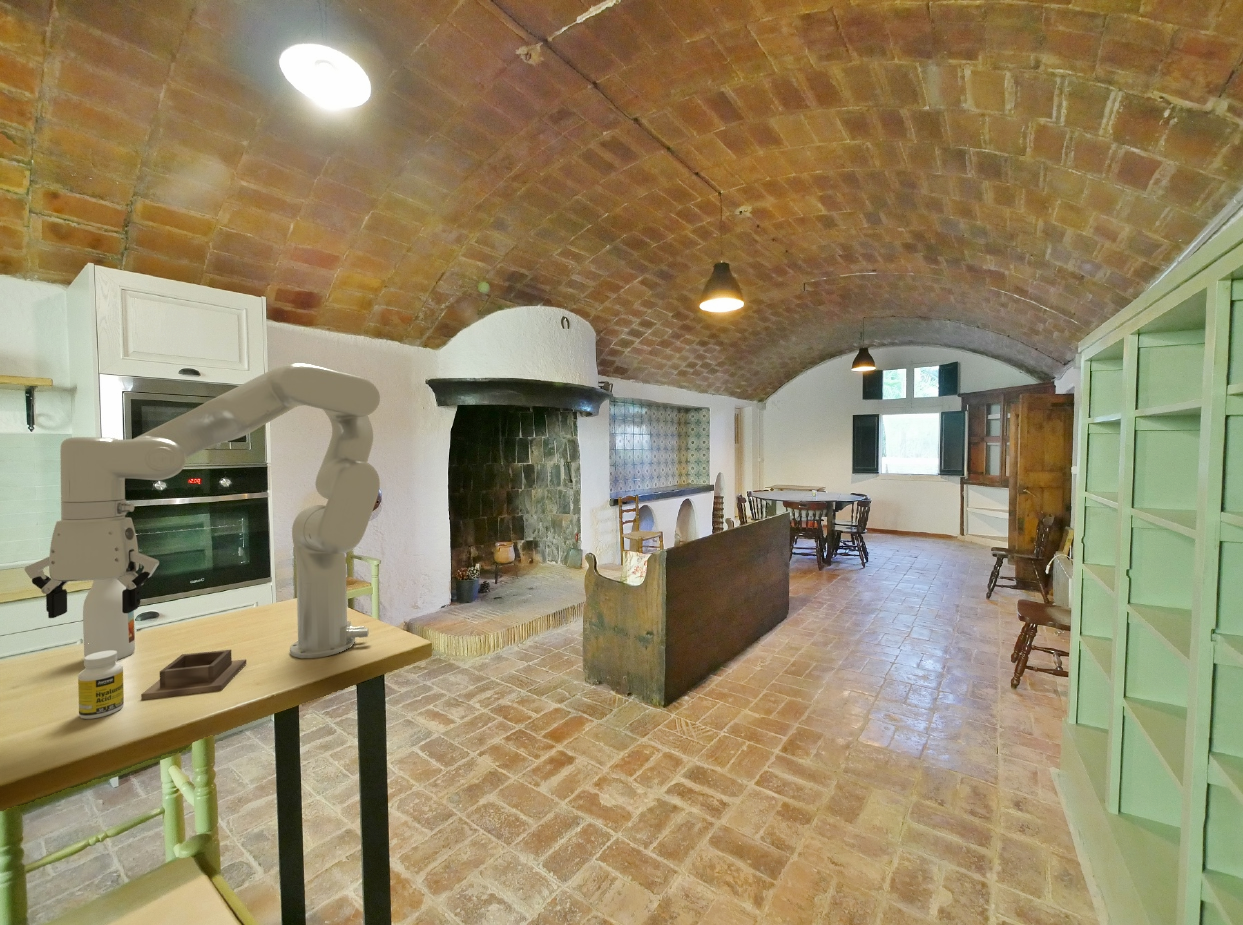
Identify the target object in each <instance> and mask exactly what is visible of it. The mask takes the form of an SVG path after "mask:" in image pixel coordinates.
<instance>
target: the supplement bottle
mask: <svg viewBox="0 0 1243 925" xmlns="http://www.w3.org/2000/svg"><path fill="white" fill-rule="evenodd" d="M117 661H118V659H117V651H113V650H110V651H102V652H97V653H93V654H90V655H88V656H86V657H84V658H83V666H84V669H83V670H81V671H80V673H79V674H78V676H77V677H78V678H77V680H78V681H77V682H78V686H77V687H78V715H79V718H80V719H85V720H93V719H99V718H102V717H106V716H109V715H112V714H114V713H116V712H118V711H120V710H121V709H122V708H123V706H124V700H125V699H124V694H125V693H124V692H125V691H124V666H123V665H122V664H121V663H119V662H117Z"/></svg>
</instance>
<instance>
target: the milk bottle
mask: <svg viewBox="0 0 1243 925" xmlns="http://www.w3.org/2000/svg"><path fill="white" fill-rule="evenodd" d="M125 589H126V587H125V586H124V585H123V584H122V583H121V582H120V581H119V580H117V579H108V580H92V584H91V586H90V589H89V591H88V592H87V594H86V595H85V596H86V597H85V599H84V600H83V601H84V602H83V606H82V608H83V609H82V624H83V625H82V626H83V628H82V630H83V631H82V632H83V634H82V635H83V653H84V655H83V656H84V658H85V657H86V656H88V655H90V654H93V653H97V652H102V651H110V650H113V651H117V660H121V659H123V658H126V657H128V656H130V655H133V654H134V652H135V650H136V639H135V633H136V632H135V615H134V614H135V613H134V612H135V610H134V611H132V612H130V613H123V612H122V591H123V590H125ZM88 643H89V644H88Z"/></svg>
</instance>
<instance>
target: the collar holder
mask: <svg viewBox="0 0 1243 925" xmlns="http://www.w3.org/2000/svg"><path fill="white" fill-rule="evenodd" d="M245 664H246V665H247V659H246V658H245V659H237V660H233V659H232V649H224V650H212V651H203V652H194V653H193V652H192V653H184V654H183V653H182V654H181V655H179V656H178V657H176V659H174V660H173V661H171V663H169V664H168V665H166V666H165V667H164V668H162V669H161V670H160V671H159V679H158V681H156V682H155V683H154V684H152V685H151V686H150V687H149V688H147V689H146V690H145V691H144V692H142V693H141V694H140V699H141V701H143V700H152V699H153V700H154V699H160V697H162V698H168V697H175V696H176V697H178V696H187V695H193V694H192V693H195V694H200V693H199V692H204V693H209V692H210V693H212V692H219V690H220V691H223V690H224V689H225V687H226V686H227V685H228V684H229V683H231V681H232V680H233V679H234V678H235V677H236V676H237V675H238V674H239V673H238V672H240V671H242V669H243V668H244V667H245V666H246V665H245ZM243 666H244V667H243ZM241 668H242V669H241ZM239 670H240V671H239ZM237 673H238V674H237ZM236 674H237V675H236ZM235 675H236V676H235ZM233 677H234V678H233Z"/></svg>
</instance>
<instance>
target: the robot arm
mask: <svg viewBox="0 0 1243 925" xmlns="http://www.w3.org/2000/svg"><path fill="white" fill-rule="evenodd" d="M380 395H381V394H380V392H379V389H378V387H377V386H376V385H375V384H374V382H371V381H370V380H369V379H367V378H365V377H362V376H358V375H354V374H350V373H346V372H341V371H336V370H332V369H329V368H325V367H321V366H318V365H313V364H308V363H301V362H299V363H298V362H295V363H290V364H286V365H281V366H278V367H275V368H272V369H271V370H268V371H266V372H264V373H262V374H260V375H258V376H257V377H254V378H253V379H250V380H248V381H247V382H245V383H242V384H240V385H238V386H236V387H234V388H233V389H231V390H228V391H226V392H223V394H221V395H218V396H217V397H214V398H212V399H210V400H208V401H205V402H204V403H202V404H201V405H198V406H197V407H194V408H193V409H192V410H189V411H187V412H185V413H183V414H180V415H178V416H177V417H175V418H173V419H171V420H169V421H166V422H164V423H163V424H161V425H159V426H156V427H154V428H152V429H151V430H148V431H146V432H145V433H142V434H140V435H138V436H136V437H134V438H132V439H131V438H130V439H118V438H115V437H114V438H113V437H100V436H99V437H98V436H97V437H96V436H95V437H94V436H91V437H89V436H87V437H84V436H80V437H79V436H77V437H75V436H74V437H68V438H66V439H64V440H63V441H62V442H61V444H60V451H59V452H60V458H59V459H60V520H57V521H55V526H54V528H53V532H52V536H51V540H50V547H49V548H50V549H49V556H47V557H45V558H43V559H41V560H38V561H36V562H34V563H31V564H29V565H27V566H25V568H24V571H25V573H26V574H27V576H28V577H29V578H30V579H31V582H32V584H33V585H34V586H36V587H37V588H38V589H40V591H41V593H42V594H43V595H45V603H46V604H45V608H46V612H48V613H47V614H48V615H47V616H48V619H55V618H57V617H60V616H62V615H64V614H66V613H67V612H68V591H67V589H66V588H64V587H65V586H66V585H67V584H68V583H69V582H85V581H87V582H88V581H94V580H108V579H117V580H119V581H120V582H121V583H122V584H123V585H124V586H125V587H126V589H125V590H123V591H122V612H123V613H130V612H132V611H134V612H135V611H136V610H137V609H138V608H139V606H140V605H141V586H143V585H144V584H145V582H147V581H148V580H149V579H151V577H153V575H154V572H155V571H156V569H158V568H157V567H158V566H159V565H160V561H159V559H156V558H153V557H150V556H148V555H146V554H143V553H141V552H139V544H138V538H137V533H136V528H135V526H134V522H133V519H132V517H126V515H127V513H129V512H131V513H132V512H134V510H135V505H134V503H128V502H127V499H126V489H125V487H126V485H125V483H126V482H125V481H126V479H136V480H147V481H148V480H150V481H162V480H167V479H171V478H173V477H175V476H176V475H179V473H181V472H182V470H183V469H184V467H185V466H186V463H187V459H188V458H191V457H193V456H194V455H196V454H198V453H201V451H204V450H206V449H209V448H211V447H213V446H217V445H219V444H223V443H226V442H231V441H233V440H237V439H240V438H242V437H244V436H246V435H249V434H251V433H253V432H254V431H256V430H257V429H260V428H261V427H263V426H264V425H266V424H268V423H269V422H272V421H273V420H275V419H277V418H278V417H280V416H283V415H284V414H286V413H288V412H289V411H291V410H293V409H295V408H297V407H301V406H308V407H312V408H315V409H321V410H323V412H324V413H325V414H326V416H327V418H328V419H329V422H330V423H331V428H332V430H331V431H332V432H331V437H330V441H329V444H328V447H327V450H326V452H325V455H324V457H323V460H322V463H321V466H320V467H319V470H318V473H317V474H316V478H315V482H314V483H315V489H316V492H317V493H318V494H319V495H320V496H321V497H322V498H324V499H325V500H326V499H327V502H326V505H324V504H323V505H312V506H309V507H307V508H304V509H303V510H302V511H300V512H299V513H298V514H297V515H296V517H295V518H294V521H293V523H292V527H291V528H292V529H291V535H292V536H291V538H292V543H293V550H294V554H295V564H296V603H297V604H296V607H297V609H296V610H297V611H296V612H297V613H296V614H297V641H295V642H294V643H293V644H291V646H290V647H289V653H290V655H291V656H292V657H294V658H298V659H319V658H325V657H329V656H333V655H337V654H340V653H342V651H343V652H344V650H345V651H347V650H349V649H350V648H351V647H350V646H351V645H353V644H354V642H355V643H356V638H368V637H369V627H365V625H364V626H363V625H362V626H353V625H352V622H351V620H349V621H348V609H347V608H348V606H347V605H348V601H347V599H348V598H347V597H348V595H347V560H346V555H345V554H347V553H349V552H351V551H352V550H354V549H355V548H356V547H357V546H358V545H359V544H360V542H361V541H362V540H363V537H364V535H365V532H366V530H367V527H368V524H369V522H370V519H371V516H372V513H373V510H374V508H375V505H376V502H377V499H378V496H379V492H380V488H381V487H380V486H381V485H380V484H381V482H380V476H379V474H378V471H377V470H376V468H375V467H374V466H373V465H372V464H370V463H368V460H369V458H370V453H371V450H372V448H373V447H372V446H373V442H374V430H373V426H372V423H371V420H370V417H369V415H371V414H373V413H375V411H376V410H377V408H378V407H379V405H380V402H381V396H380ZM140 565H142V566H143V569H142V571H141V573H139V574H138V573H136V572H137V571H138V570H139V568H140ZM45 568H48V572H49V576H48V575H46V574H45V572H44V569H45ZM354 645H355V644H354ZM354 645H353V646H354ZM348 648H349V649H348ZM346 649H347V650H346ZM339 652H340V653H339Z"/></svg>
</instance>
